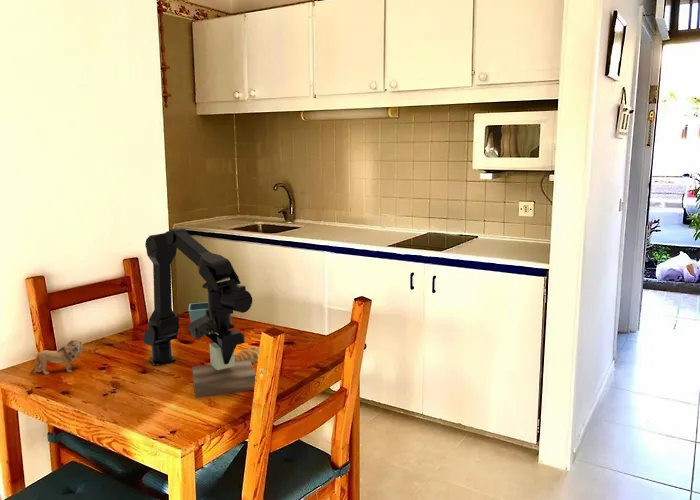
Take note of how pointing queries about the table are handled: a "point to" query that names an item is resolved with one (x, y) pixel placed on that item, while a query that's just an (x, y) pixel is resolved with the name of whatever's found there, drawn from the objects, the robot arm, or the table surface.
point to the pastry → (247, 355)
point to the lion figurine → (59, 356)
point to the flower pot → (197, 310)
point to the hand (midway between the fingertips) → (222, 360)
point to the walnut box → (223, 379)
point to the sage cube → (219, 357)
